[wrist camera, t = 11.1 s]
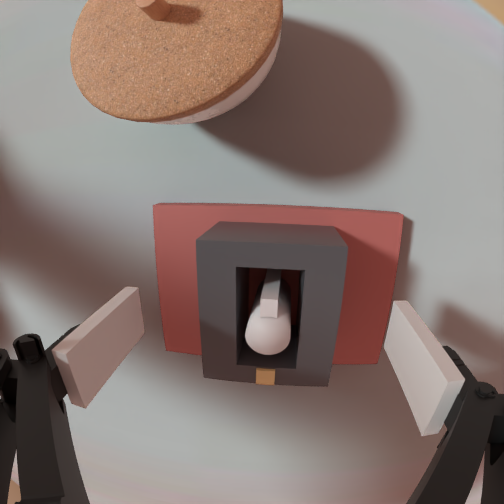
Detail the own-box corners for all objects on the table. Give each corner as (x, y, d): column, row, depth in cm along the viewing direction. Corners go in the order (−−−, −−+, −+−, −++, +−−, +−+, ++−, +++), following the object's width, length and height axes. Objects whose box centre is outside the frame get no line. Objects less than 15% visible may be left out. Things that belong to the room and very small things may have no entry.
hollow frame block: (219, 221, 19) (194, 240, 14) (333, 226, 18) (349, 247, 13) (221, 334, 21) (202, 379, 16) (321, 340, 20) (327, 388, 15)
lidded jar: (304, 113, 18) (316, 66, 9) (149, 155, 20) (59, 155, 11) (263, -16, 15) (245, -100, 6) (125, 31, 17) (50, -17, 8)
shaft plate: (171, 342, 23) (137, 394, 17) (160, 203, 20) (107, 220, 14) (373, 355, 22) (394, 413, 15) (397, 212, 19) (442, 233, 12)
